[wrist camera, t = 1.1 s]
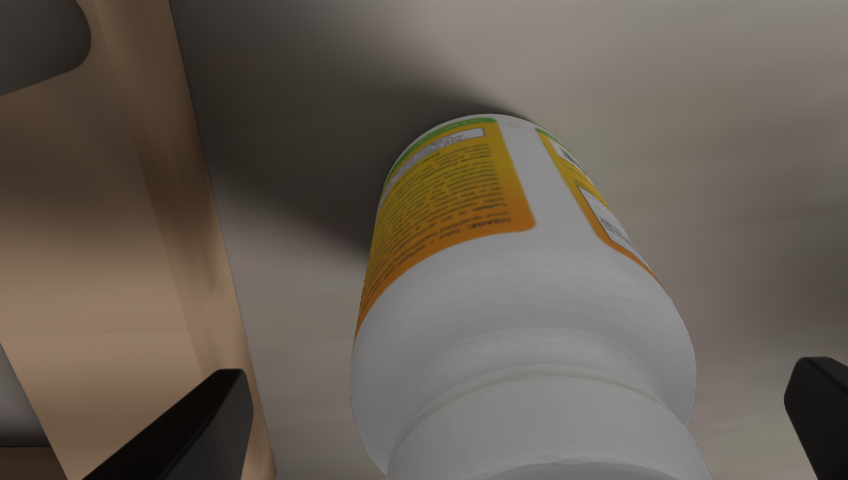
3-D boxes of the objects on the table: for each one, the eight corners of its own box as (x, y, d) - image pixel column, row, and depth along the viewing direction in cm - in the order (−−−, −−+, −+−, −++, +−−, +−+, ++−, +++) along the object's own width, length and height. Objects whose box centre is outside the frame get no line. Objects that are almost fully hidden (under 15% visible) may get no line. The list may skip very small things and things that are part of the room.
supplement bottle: (362, 274, 16) (285, 675, 7) (402, 85, 13) (357, 355, 5) (544, 310, 16) (676, 723, 8) (616, 136, 14) (929, 460, 5)
